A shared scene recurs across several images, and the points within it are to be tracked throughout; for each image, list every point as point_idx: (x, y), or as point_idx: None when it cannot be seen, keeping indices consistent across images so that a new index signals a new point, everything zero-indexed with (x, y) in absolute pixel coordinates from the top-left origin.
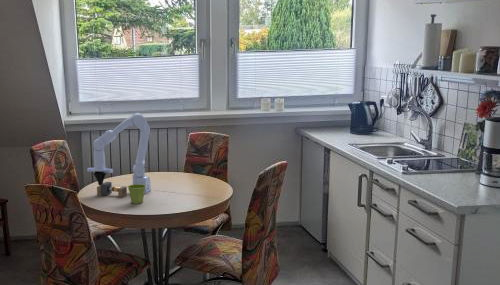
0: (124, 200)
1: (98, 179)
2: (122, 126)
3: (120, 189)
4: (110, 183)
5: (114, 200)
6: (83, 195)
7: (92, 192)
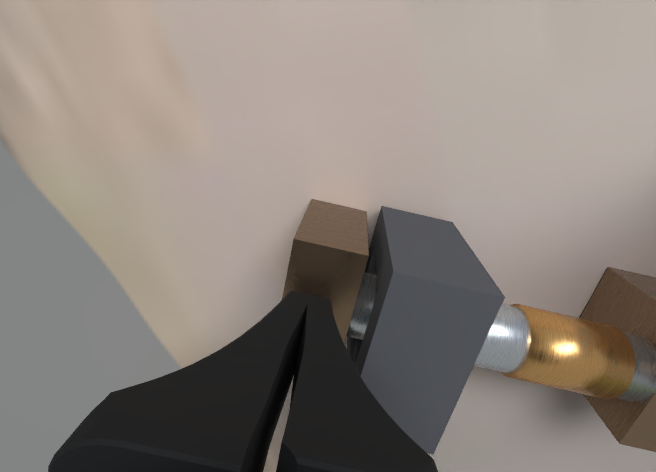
0: (633, 462)
1: (266, 452)
2: None
3: (651, 444)
4: (484, 319)
5: (529, 460)
6: (151, 311)
7: (185, 188)
